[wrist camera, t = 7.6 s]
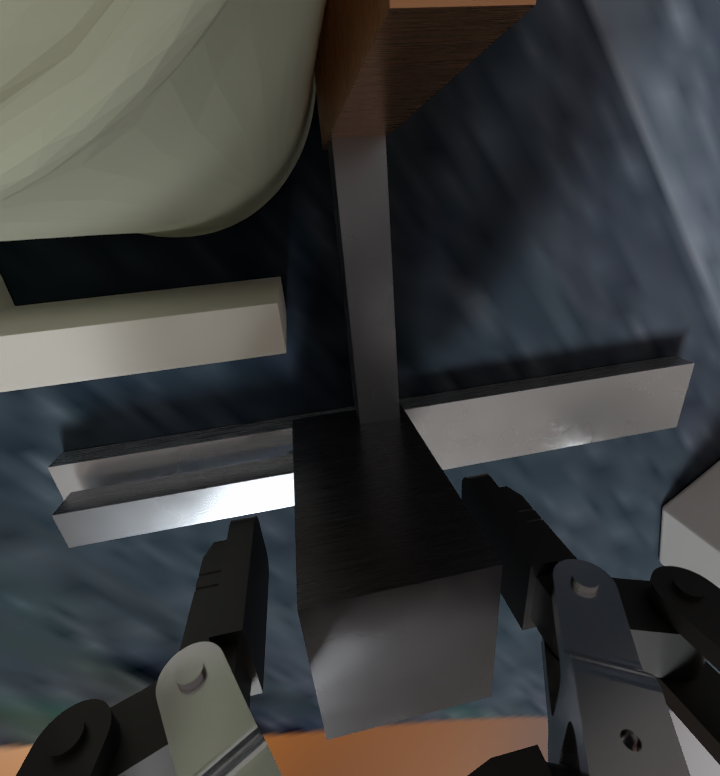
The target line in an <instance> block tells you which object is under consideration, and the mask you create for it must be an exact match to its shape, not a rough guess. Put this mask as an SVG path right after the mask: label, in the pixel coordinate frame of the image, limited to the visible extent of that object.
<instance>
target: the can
mask: <svg viewBox="0 0 720 776" xmlns="http://www.w3.org/2000/svg"><path fill="white" fill-rule="evenodd" d="M325 5H326V0H0V241H13V240H28V239H44V238H59V237H74V236H89V235H107V234H128V233H140V234H146V235H151V236H159V237H174V238H175V237H192V236H199V235H205V234H209V233H213V232H217V231H220V230H222V229H225V228H228V227H231V226H233V225H235V224H237V223H238V222H240V221H242V220H244V219H246V218H248V217H249V216H251V215H252V214H254V213H255V212H256V211H258V210H259V209H260V208H261V207H262V206H264V205H265V204H266V203H267V202H268V201H269V200H270V199H271V198H272V197H273V196H274V195H275V194H276V193H277V192H278V190H279V189H280V188H281V187H282V185H283V184H284V183H285V181H286V180H287V178H288V177H289V175H290V173H291V172H292V170H293V168H294V167H295V165H296V163H297V161H298V159H299V157H300V155H301V152H302V150H303V148H304V145H305V142H306V139H307V136H308V132H309V129H310V125H311V121H312V116H313V110H314V104H315V94H316V86H315V77H314V67H315V61H316V55H317V49H318V43H319V37H320V32H321V27H322V21H323V16H324V11H325Z"/></svg>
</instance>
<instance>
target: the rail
mask: <svg viewBox="0 0 720 776" xmlns="http://www.w3.org/2000/svg"><path fill="white" fill-rule="evenodd" d="M694 364H695V363H693V362H690V361H687V360H684V359H681V358H678V357H676V356H669V357H663V358H657V359H650V360H644V361H638V362H631V363H625V364H619V365H612V366H606V367H600V368H593V369H587V370H581V371H574V372H568V373H562V374H555V375H549V376H543V377H536V378H530V379H524V380H517V381H511V382H505V383H498V384H492V385H486V386H479V387H473V388H467V389H460V390H454V391H448V392H441V393H435V394H429V395H422V396H416V397H410V398H403V399H399V403H400V404H401V406H402V407H403V409H404V410H405V412H406V413H407V415H408V417H409V418H410V420H411V421H412V423H413V424H414V426H415V428H416V429H417V431H418V432H419V434H420V435H421V437H422V439H423V440H424V442H425V443H426V445H427V446H428V448H429V450H430V451H431V453H432V454H433V456H434V457H435V459H436V461H437V462H438V464H439V465H440V467H441V468H442V470H445V469H451V468H456V467H461V466H467V465H472V464H478V463H483V462H489V461H494V460H499V459H505V458H510V457H516V456H521V455H527V454H532V453H537V452H543V451H548V450H554V449H559V448H564V447H570V446H575V445H581V444H586V443H592V442H597V441H602V440H608V439H613V438H619V437H624V436H630V435H635V434H640V433H646V432H651V431H657V430H662V429H667V428H673V427H677V423H678V420H679V416H680V413H681V409H682V406H683V402H684V399H685V395H686V392H687V388H688V385H689V381H690V378H691V374H692V371H693V367H694ZM351 410H355V409H354V406H352V407H346V408H340V409H333V410H327V411H321V412H314V413H308V414H302V415H295V416H289V417H283V418H276V419H270V420H264V421H257V422H251V423H245V424H238V425H232V426H226V427H219V428H213V429H207V430H200V431H194V432H188V433H181V434H175V435H169V436H162V437H156V438H150V439H143V440H137V441H131V442H124V443H118V444H112V445H105V446H99V447H92V448H86V449H80V450H73V451H67V452H63V453H62V454H61V455H60V456H59V457H58V458H57V459H56V460H55V461H54V462H53V463H52V464H51V465H50V466H49V467H48V469H49V471H50V473H51V475H52V477H53V479H54V481H55V483H56V485H57V487H58V489H59V491H60V493H61V495H62V497H63V499H64V500H65V499H66V498H67V496H68V495H69V494H70V493H71V492H75V491H80V490H86V489H92V488H98V487H104V486H110V485H116V484H122V483H127V482H133V481H139V480H145V479H151V478H157V477H163V476H169V475H174V474H180V473H186V472H192V471H198V470H204V469H210V468H216V467H221V466H227V465H233V464H239V463H245V462H251V461H257V460H263V459H268V458H274V457H280V456H286V455H292V454H293V433H292V420H294V419H301V418H307V417H313V416H320V415H326V414H332V413H338V412H345V411H351Z"/></svg>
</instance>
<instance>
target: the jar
mask: <svg viewBox="0 0 720 776" xmlns="http://www.w3.org/2000/svg"><path fill="white" fill-rule="evenodd" d="M659 560H660V562H661V563H662V564H663V565H664V566H676V567H681V568H685V569H688V570H690V571H693V572H695V573H697V574H699V575H701V576H703V577H704V578H706V579H708V580H709V581H710V582H712V583H713V584H714V585H716V586H717V587H718V588H720V460H719V461H718V462H717V463H715V464H714V465H713V466H712V467H710V468H709V469H708V470H707V471H706V472H704V473H703V474H702V475H701V476H699V477H698V478H697V479H696V480H695V481H693V482H692V483H691V484H690V485H688V486H687V487H686V488H685V489H684V490H682V491H681V492H680V493H679V494H677V495H676V496H675V497H674V498H673V499H671V500H670V501H669V502H668V503H666V504H665V505H664V506H663V508H662V520H661V536H660V551H659Z"/></svg>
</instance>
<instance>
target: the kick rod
mask: <svg viewBox="0 0 720 776" xmlns="http://www.w3.org/2000/svg"><path fill="white" fill-rule="evenodd" d="M535 5H536V0H326V5H325V11H324V16H323V21H322V27H321V32H320V37H319V43H318V49H317V55H316V61H315V67H314V77H315V86H316V95H317V104H318V113H319V123H320V132H321V141H322V150H328V159H329V169H330V179H331V188H332V198H333V207H334V217H335V227H336V236H337V246H338V255H339V265H340V275H341V284H342V294H343V303H344V313H345V323H346V332H347V342H348V351H349V361H350V371H351V380H352V390H353V399H354V409H355V410H351V411H345V412H338V413H332V414H326V415H320V416H313V417H307V418H301V419H294V420H292V433H293V454H292V455H286V456H280V457H274V458H268V459H263V460H257V461H251V462H245V463H239V464H233V465H227V466H221V467H216V468H210V469H204V470H198V471H192V472H186V473H180V474H174V475H169V476H163V477H157V478H151V479H145V480H139V481H133V482H127V483H122V484H116V485H110V486H104V487H98V488H92V489H86V490H80V491H75V492H71V493H70V494H69V495H68V496H67V498H66V499H65V500H64V501H63V503H62V504H61V505H60V506H59V507H58V509H57V510H56V511H55V512H54V514H53V515H52V517H53V519H54V520H55V522H56V524H57V526H58V528H59V530H60V532H61V534H62V535H63V537H64V539H65V541H66V543H67V545H68V547H69V548H70V547H75V546H81V545H86V544H91V543H97V542H102V541H107V540H113V539H118V538H123V537H129V536H134V535H139V534H145V533H150V532H155V531H161V530H166V529H171V528H177V527H182V526H188V525H193V524H198V523H204V522H209V521H214V520H220V519H225V518H230V517H236V516H241V515H246V514H252V513H257V512H262V511H268V510H273V509H278V508H284V507H289V506H294V505H295V538H296V573H297V608H298V614H299V619H300V623H301V627H302V632H303V636H304V641H305V645H306V650H307V654H308V658H309V663H310V667H311V672H312V676H313V680H314V685H315V689H316V694H317V698H318V703H319V707H320V711H321V716H322V720H323V725H324V729H325V733H326V738H327V740H329V739H332V738H336V737H340V736H344V735H347V734H351V733H355V732H359V731H362V730H366V729H370V728H374V727H377V726H381V725H385V724H389V723H392V722H396V721H400V720H404V719H407V718H411V717H415V716H419V715H422V714H426V713H430V712H434V711H437V710H441V709H445V708H449V707H452V706H456V705H460V704H464V703H467V702H471V701H475V700H479V699H482V698H486V697H490V696H491V691H492V680H493V669H494V658H495V647H496V635H497V624H498V613H499V602H500V591H501V580H502V568H503V564H502V562H501V561H500V559H499V558H498V556H497V555H496V553H495V551H494V550H493V548H492V547H491V545H490V544H489V542H488V540H487V539H486V537H485V536H484V534H483V533H482V531H481V530H480V528H479V526H478V525H477V523H476V522H475V520H474V519H473V517H472V515H471V514H470V512H469V511H468V509H467V508H466V506H465V504H464V503H463V501H462V500H461V498H460V497H459V495H458V493H457V492H456V490H455V489H454V487H453V486H452V484H451V482H450V481H449V479H448V478H447V476H446V475H445V473H444V471H443V470H442V468H441V467H440V465H439V464H438V462H437V461H436V459H435V457H434V456H433V454H432V453H431V451H430V450H429V448H428V446H427V445H426V443H425V442H424V440H423V439H422V437H421V435H420V434H419V432H418V431H417V429H416V428H415V426H414V424H413V423H412V421H411V420H410V418H409V417H408V415H407V413H406V412H405V410H404V409H403V407H402V406H401V404H400V403H399V392H398V372H397V352H396V333H395V313H394V293H393V273H392V253H391V234H390V214H389V194H388V174H387V155H386V137H387V136H388V135H389V134H390V133H391V132H393V131H394V130H395V129H396V128H397V127H398V126H399V125H401V124H402V123H403V122H404V121H405V120H406V119H407V118H408V117H410V116H411V115H412V114H413V113H414V112H415V111H416V110H417V109H419V108H420V107H421V106H422V105H423V104H424V103H425V102H426V101H428V100H429V99H430V98H431V97H432V96H433V95H434V94H435V93H437V92H438V91H439V90H440V89H441V88H442V87H443V86H445V85H446V84H447V83H448V82H449V81H450V80H451V79H452V78H454V77H455V76H456V75H457V74H458V73H459V72H460V71H461V70H463V69H464V68H465V67H466V66H467V65H468V64H469V63H470V62H472V61H473V60H474V59H475V58H476V57H477V56H478V55H480V54H481V53H482V52H483V51H484V50H485V49H486V48H487V47H489V46H490V45H491V44H492V43H493V42H494V41H495V40H496V39H498V38H499V37H500V36H501V35H502V34H503V33H504V32H505V31H507V30H508V29H509V28H510V27H511V26H512V25H513V24H514V23H516V22H517V21H518V20H519V19H520V18H521V17H522V16H524V15H525V14H526V13H527V12H528V11H529V10H530V9H531V8H533V7H534V6H535Z"/></svg>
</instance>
